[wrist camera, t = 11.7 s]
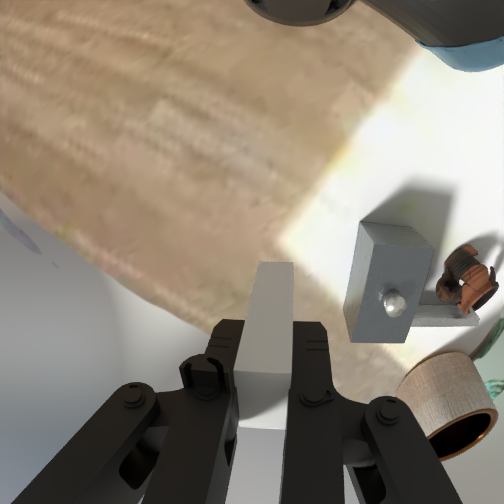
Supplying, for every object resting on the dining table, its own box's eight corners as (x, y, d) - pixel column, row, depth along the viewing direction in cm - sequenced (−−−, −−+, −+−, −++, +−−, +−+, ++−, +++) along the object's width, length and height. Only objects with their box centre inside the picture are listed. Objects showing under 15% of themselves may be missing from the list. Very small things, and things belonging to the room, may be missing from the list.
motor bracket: (359, 221, 39) (378, 250, 30) (492, 238, 37) (526, 265, 28) (342, 309, 45) (352, 352, 36) (467, 312, 43) (491, 347, 34)
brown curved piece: (482, 234, 38) (511, 273, 32) (463, 271, 45) (487, 306, 39) (430, 256, 37) (461, 302, 32) (413, 293, 44) (437, 334, 39)
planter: (408, 417, 55) (422, 473, 41) (382, 380, 50) (398, 446, 36) (475, 379, 49) (500, 431, 35) (462, 333, 45) (497, 392, 30)
